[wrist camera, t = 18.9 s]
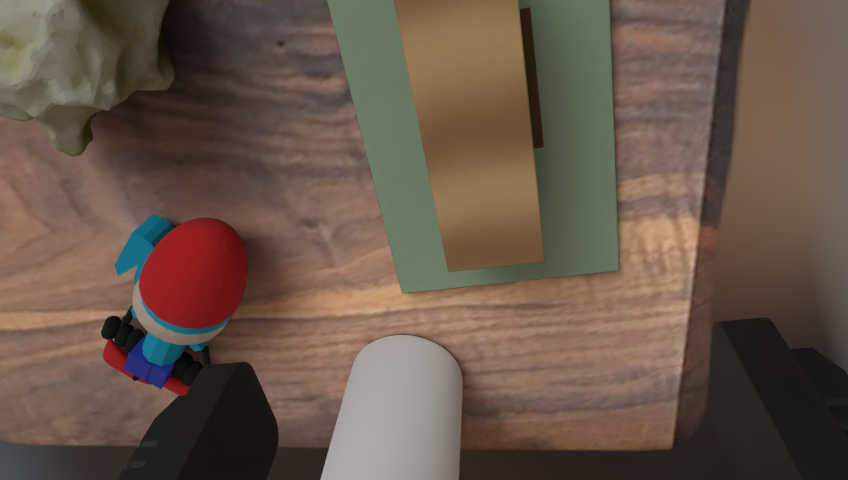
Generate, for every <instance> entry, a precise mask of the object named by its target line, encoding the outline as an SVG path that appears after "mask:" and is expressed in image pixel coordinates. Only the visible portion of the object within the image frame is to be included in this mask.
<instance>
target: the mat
mask: <svg viewBox="0 0 848 480" xmlns="http://www.w3.org/2000/svg"><path fill="white" fill-rule="evenodd" d="M518 1H519V10H520V20H521V30H522V39H523V49H524V59H525V69H526V78H527V88H528V98H529V108H530V117H531V127H532V137H533V146H534V156H535V166H536V176H537V185H538V195H539V205H540V215H541V224H542V234H543V244H544V253H545V262H540V263H531V264H521V265H512V266H503V267H493V268H484V269H475V270H465V271H456V272H448V269H447V264H446V259H445V254H444V249H443V244H442V239H441V234H440V229H439V224H438V219H437V214H436V209H435V204H434V199H433V194H432V189H431V184H430V179H429V174H428V169H427V164H426V159H425V154H424V149H423V144H422V139H421V134H420V129H419V124H418V119H417V114H416V109H415V104H414V99H413V94H412V89H411V84H410V79H409V74H408V69H407V64H406V59H405V54H404V49H403V44H402V39H401V34H400V29H399V24H398V19H397V14H396V9H395V4H394V0H327V2H328V6H329V10H330V14H331V18H332V21H333V25H334V29H335V33H336V37H337V41H338V45H339V49H340V53H341V57H342V61H343V64H344V68H345V72H346V76H347V80H348V84H349V88H350V92H351V96H352V100H353V104H354V107H355V111H356V115H357V119H358V123H359V127H360V131H361V135H362V139H363V143H364V146H365V150H366V154H367V158H368V162H369V166H370V170H371V174H372V178H373V182H374V186H375V189H376V193H377V197H378V201H379V205H380V209H381V213H382V217H383V221H384V225H385V229H386V232H387V236H388V240H389V244H390V248H391V252H392V256H393V260H394V264H395V268H396V272H397V275H398V279H399V283H400V287H401V291H402V293H413V292H422V291H432V290H441V289H451V288H460V287H470V286H479V285H488V284H498V283H507V282H517V281H526V280H536V279H545V278H555V277H564V276H574V275H583V274H593V273H602V272H611V271H619V249H618V221H617V193H616V164H615V136H614V108H613V80H612V51H611V23H610V0H518Z"/></svg>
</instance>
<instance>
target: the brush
mask: <svg viewBox="0 0 848 480" xmlns="http://www.w3.org/2000/svg"><path fill="white" fill-rule="evenodd" d="M394 4H395V9H396V14H397V19H398V24H399V29H400V34H401V39H402V44H403V49H404V54H405V59H406V64H407V69H408V74H409V79H410V84H411V89H412V94H413V99H414V104H415V109H416V114H417V119H418V124H419V129H420V134H421V139H422V144H423V149H424V154H425V159H426V164H427V169H428V174H429V179H430V184H431V189H432V194H433V199H434V204H435V209H436V214H437V219H438V224H439V229H440V234H441V239H442V244H443V249H444V254H445V259H446V264H447V269H448V272H456V271H465V270H475V269H484V268H493V267H503V266H512V265H521V264H531V263H540V262H545V253H544V244H543V234H542V224H541V215H540V205H539V195H538V185H537V176H536V166H535V156H534V146H533V137H532V127H531V117H530V108H529V98H528V88H527V78H526V69H525V59H524V49H523V39H522V30H521V20H520V10H519V1H518V0H394Z"/></svg>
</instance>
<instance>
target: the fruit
mask: <svg viewBox="0 0 848 480" xmlns="http://www.w3.org/2000/svg"><path fill="white" fill-rule="evenodd" d="M169 1H170V0H0V115H2V116H5V117H7V118H9V119H15V120H20V121H28V120H31V119H33V118H35V119H37V120H38V121H39V122H40V124H41V126H42V127H43V128H44V130H45V131H46V132H47V134H48V136H49V138H50V140H51V142H52V144H53V146H54V148H55V149H57V150H58V151H60V152H63V153H66V154H68V155H69V156H78V155H81V154H82V153H83V152H84V151H85V149H86V146H87V145H88V144H89V143H90V142H91V141H92V140H93V132H92V130H91V127H90V125H91V121H92V119H93V118H94V117H95V116H96V115H97V114H99V113H100V112H101V111H102V110H105V111H109V110H110V109H111V107H112V106H116V105H117V104H119V103H120V102H122V101H124V100H126V99H127V98H128V96H129V95H130V94H132V93H133V92H134V91H136V90H142V91H154V90H166V89H168V88H169V87H170V86H171V84H172V82H173V81H174V77H175V71H174V68H173V64H172V61H171V58H170V55H169V53H168V50H167V48H166V45H165V43H164V40H163V36H162V30H163V17H164V14H165V12H166V10H167V7H168V5H169Z"/></svg>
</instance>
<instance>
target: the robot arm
mask: <svg viewBox="0 0 848 480" xmlns="http://www.w3.org/2000/svg"><path fill="white" fill-rule="evenodd" d="M709 402H710V409H711V414H712V419H713V422H714V426H715V428H716V431H717V434H718V436H719V438H720V441H721V443H722V446H723V448H724V450H725V453H726V455H727V458H728V460H729V462H730V465H731V467H732V470H733V472H734V475H735V477H736V479H737V480H848V375H847V374H846V372H845V371H844V370H843V369H842V368H840V367H839V366H837V365H836V364H834V363H833V362H831V361H830V360H829V359H827V358H826V357H824V356H823V355H822V354H820V353H819V352H817V351H816V350H814V349H813V348H800V349H790V348H789V347H788V345H787V344H786V342H785V340H784V339H783V337H782V336H781V334H780V333H779V331H778V330H777V328H776V327H775V325H774V324H773V322H772V321H771V320H770V319H768V318H754V319H742V320H731V321H719V322H715V324H714V326H713V330H712V343H711V360H710V377H709ZM277 447H278V426H277V422H276V419H275V416H274V414H273V412H272V410H271V407H270V405H269V403H268V401H267V398H266V396H265V394H264V392H263V389H262V387H261V385H260V383H259V380H258V378H257V376H256V374H255V371H254V369H253V368H252V366H251V365H250V364H249V363H247V362H236V363H225V364H214V365H206V366H204V367H203V368H202V369H201V370H200V372H199V373H198V375H197V376H196V378H195V380H194V381H193V383H192V385H191V387H190V388H189V390H188V392H187V393H186V395H182V396H178V397H177V398H176V399H175V400H174V401H173V402H172V403H171V404H170V405H169V406H168V407H167V408H166V409H165V410H163V411H162V412H161V413H160V414H159V415H158V416H157V417H156V418H155V420H154V421H153V423H152V424H151V426H150V428H149V429H148V431H147V432H146V434H145V436H144V437H143V439H142V440H141V442H140V448H137V449H136V450H135V452H134V453H133V455H132V456H131V458H130V460H129V461H128V463H127V469H126V470H123V471H122V472H121V474H120V476H119V477H118V479H117V480H266V479H267V476H268V474H269V471H270V468H271V465H272V463H273V460H274V458H275V455H276V451H277Z"/></svg>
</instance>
